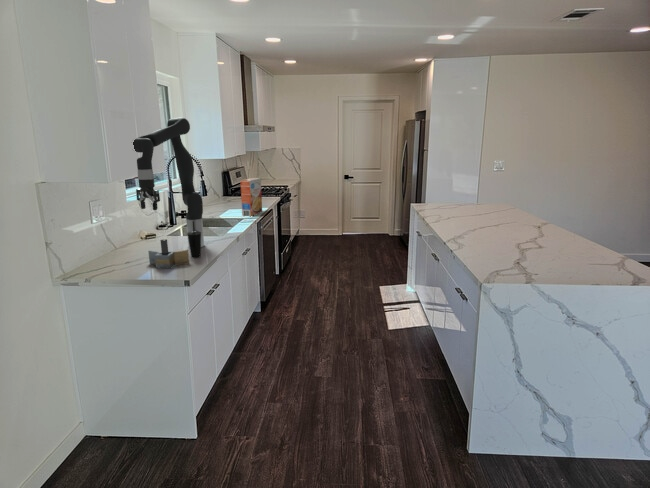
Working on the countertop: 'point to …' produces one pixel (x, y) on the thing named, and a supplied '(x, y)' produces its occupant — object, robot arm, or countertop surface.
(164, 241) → the hinge pin
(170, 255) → the hinge
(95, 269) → the countertop surface
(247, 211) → the pasta box
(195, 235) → the drinking cup
